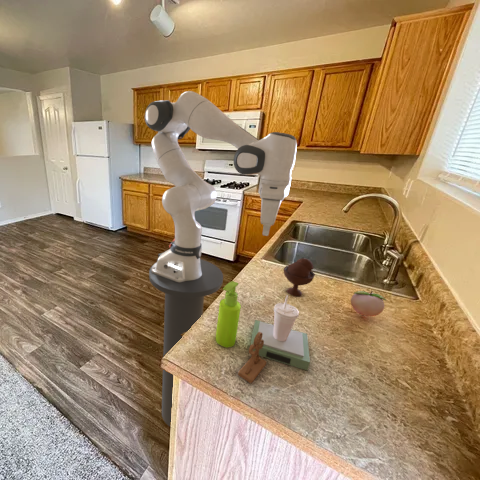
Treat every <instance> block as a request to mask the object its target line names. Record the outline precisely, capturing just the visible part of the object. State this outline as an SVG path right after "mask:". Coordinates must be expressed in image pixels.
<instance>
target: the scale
mask: <svg viewBox="0 0 480 480" xmlns="http://www.w3.org/2000/svg"><path fill="white" fill-rule="evenodd" d="M273 331H274V323H273V324H272V323H269V322H265V321H263V320H259V319H254V324H253V329H252V335H251V339H250V345H251V344H253V343H254V339H255V336H256V335H257V333H258V332H261V333H262V334H263V335H262V340H264V345H263V347H262V349H259V357H261V358H262V357H263V358H266V359H268V360H272V361H275V362H278V363H281V364H284V365H287V366H291V367H294V368H297V369H301V370H304V371H307V372H308V370H309V368H310V363H311V358H310V346H309V338H308V337H309V336H308V333H306V332H302V331H299V330H295V329H293V328H292V329H291V331H290V334H289V336H288V338H287V340H286V341H283V342H282V341H278V340H276V339H275V338H274V336H273ZM259 336H260V335H259ZM260 343H261V342H260ZM253 345H254V344H253ZM259 345H260V344H259ZM253 351H256V350H255V349H253Z"/></svg>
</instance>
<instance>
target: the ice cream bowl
mask: <svg viewBox="0 0 480 480" xmlns="http://www.w3.org/2000/svg"><path fill="white" fill-rule="evenodd" d="M312 270H314V264H313V262H312V261H311V260H310V259H309V258H306V257H302V258H298V259H297V260H296V261H294V262H291V263H290V264H289V265H286V266H284V267H283V275H284V277H285V278H286V279H287V281H288V282H289V283H291V284H292V285H293V286H292V287H288V288H287V289H286V292H287V294H289V295H290V296H294V297H301V296H302V294H303V293H302V291H301V290H300V289H299V287H300V286H306V285H308V284H310V283H311V282H313V280H314V278H315V276H316V273H315V272H314V271H312Z"/></svg>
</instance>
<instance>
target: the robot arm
mask: <svg viewBox="0 0 480 480" xmlns="http://www.w3.org/2000/svg"><path fill="white" fill-rule="evenodd" d="M144 122H145V125H146V126H147V127H148V128H149V129H151V130H152V131H154V132H157V133H156V134H155V135H154V136H153V138H152V140H151V148H152V152H153V155H154V157H155V160H156V162H157V165H158V167H159V169H160V171H161V173H162V175H163V177H164V179H165V180H166V181H167V182H169V183H170V184H172V185H173V187H170V188H168V189H166V190H165V191H164V193H163V194H162V198H161V203H162V207H163V209H164V210H165V212H166V213H167V214H169V216H171V218H172V221H173V225H174V239H173V240H172V241H171V242H170V243H169V245H168V248H169V249H166V250H165V251H163V252H161V253H158V254H157V260H156V262H155V263H154V264H153V265H151V267H152V270H151V272H152V273H154V274H157V275H160V276H162V277H165V278H168V279H170V280H173V281H176V282H184V281H190V280H195V279H198V278H200V277H201V276H202V271H201V265H200V259H201V258H202V257H201V256H202V250H203V249H202V248H203V247H202V232H203V226H202V225H201V224H200V223H199V222H198V221H197V220H196V216H195V214H196V212H197V211H202V210H206V209H207V208H209V207H211V206H212V205H214V204H215V202H216V201H217V197H218V195H217V190H216V188H215V187H214V186H213V184H211V183H209V182H207V181H206V180H204V179H203V178H202V177H201V176H200V175H199V174H198V173H197V172H196V171H195V170H194V169H193V168H192V166H191V165H190V163H189V162H188V161H189V160H187V157H186V155H185V154H184V152H183V150H182V147H181V146H180V145H179V140H182V139H183V138H185V135H186V134H188V133H189V132H190V130H191V131H192V132H193V133H195V134H196V135H198V136H199V137H201V138H203V139H207V140H214V141H220V142H225V143H228V144H230V145H232V146H233V147H235V148H236V151H235V153H234V155H233V167H234V168H235V170H236V172H238V173H239V174H241V175H245V176H253V175H259V176H260V177H259V184H258V190H257V193H258V195H259V198H260V199H261V202H260V203H261V204H260V224H261V225H262V227H263V228H262V236H266V237H269V235H270V230H271V227H272V226H274V225H275V223H276V219H277V216H278V213H279V210H280V206H281V204H282V202H283V201H284V199H285V198H287V197H288V196H289V193H290V188H291V184H292V172H293V168H294V166H295V163H296V156H297V148H298V147H297V146H298V143H297V138H296V137H295V136H294V135H292V134H289V133H285V132H279V131H274V132H269V133H268V134H267V135H266V136H264V137H263V138H261V139H258V138H257V137H256V136H254V135H253V134H252V133H250V132H248V131H247V130H246V129H245V128H243V127H242V126H240V125H238V123H236V122H235V121H234V120H233V119H231V118H230V117H229V116H227V115H226V114H225V113H224V112H223V111H222V110H221V109H220V108H219V107H217V106H216V105H215V104H214V103H213V102H211V101H210V100H209V99H208V98H206V97H205V96H203V95H201V94H200V93H197V92H195V91H193V90H188V91H187V90H186V91H184V92H183V93H181V94H180V95H179V96H178V98H177V100H176V101H175V102H171V101H170V100H168V99H166V100H155V101H151V102H150V103H149V104H148V105H147V106H146V109H145V112H144Z"/></svg>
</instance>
